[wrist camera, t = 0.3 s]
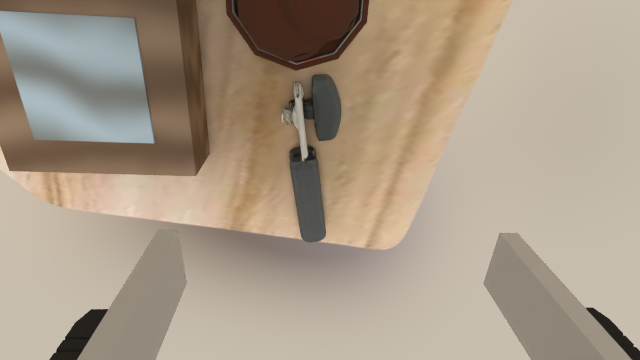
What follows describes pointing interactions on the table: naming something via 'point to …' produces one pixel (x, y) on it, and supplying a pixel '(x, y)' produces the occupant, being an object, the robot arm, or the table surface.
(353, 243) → the table surface
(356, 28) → the ice cream bowl
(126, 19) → the walnut plinth
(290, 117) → the can opener
